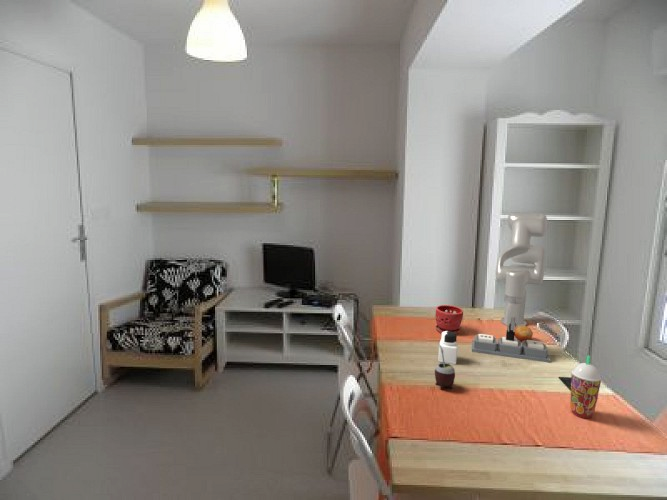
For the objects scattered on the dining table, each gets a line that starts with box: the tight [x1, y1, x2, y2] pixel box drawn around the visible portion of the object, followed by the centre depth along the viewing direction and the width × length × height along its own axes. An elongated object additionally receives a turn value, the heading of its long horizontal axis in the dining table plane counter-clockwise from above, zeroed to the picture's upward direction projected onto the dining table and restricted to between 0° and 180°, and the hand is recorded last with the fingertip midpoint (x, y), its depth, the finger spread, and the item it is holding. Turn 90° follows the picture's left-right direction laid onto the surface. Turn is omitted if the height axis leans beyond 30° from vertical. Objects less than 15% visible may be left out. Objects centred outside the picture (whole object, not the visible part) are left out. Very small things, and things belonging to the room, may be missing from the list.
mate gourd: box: [434, 341, 456, 391], centre depth 151 cm, size 8×8×15 cm
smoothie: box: [569, 355, 602, 419], centre depth 134 cm, size 8×8×20 cm
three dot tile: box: [478, 333, 494, 343], centre depth 186 cm, size 6×6×4 cm
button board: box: [471, 334, 551, 363], centre depth 183 cm, size 11×31×4 cm, turn 71°
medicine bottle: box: [437, 331, 459, 365], centre depth 173 cm, size 7×7×12 cm
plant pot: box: [435, 304, 464, 335], centre depth 206 cm, size 13×13×12 cm
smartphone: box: [557, 376, 571, 392], centre depth 153 cm, size 7×1×15 cm
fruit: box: [514, 325, 534, 343], centre depth 197 cm, size 8×8×8 cm
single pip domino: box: [526, 339, 544, 350], centre depth 179 cm, size 6×6×4 cm
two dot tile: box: [501, 336, 518, 346], centre depth 183 cm, size 6×6×4 cm
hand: (509, 339), depth 182 cm, fingers closed
